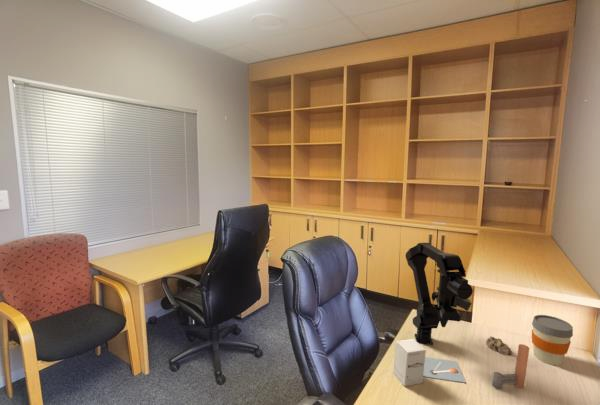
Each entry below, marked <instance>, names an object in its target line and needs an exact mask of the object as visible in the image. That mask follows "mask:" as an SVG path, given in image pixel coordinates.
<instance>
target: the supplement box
mask: <svg viewBox="0 0 600 405" xmlns="http://www.w3.org/2000/svg"><path fill="white" fill-rule="evenodd" d="M426 351H427V350H426V349H425V348H424V347H423V346H422V345H421V343H418V342H416V339H414V338H410V339H403V340H396V341H395V347H394V355H393V356H394V358H393V359H394V360H393V368H392V370H393V371H392V374H393V375H394V376H395V377H396V379H398V381H399V382H400V383H401V384H402V386H403V387H408V386H414V385H419V384H423V381H424V377H423V373H424V363H425V357H426Z"/></svg>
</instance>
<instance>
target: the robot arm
mask: <svg viewBox="0 0 600 405" xmlns="http://www.w3.org/2000/svg"><path fill="white" fill-rule="evenodd" d="M428 258H429V259H431V260H433V261H434V262H435V263H436V264H435V265H436V267H437V268H438V269H437V272H438V273H439V282H438V286H437V287H436V290H437V291H433V292H432V293H431V295H430V291H429V290H430V289H429V285H428V281H427V275H426V271H425V269H426V266H427V263H428V260H427V259H428ZM405 259H406V261H407V265H408V267H410V269H411V270H412V273H413V278H414V283H415V284H414V285H415V290H416V294H417V300H418V306H417V309H416V316H414V317H413V318H412V324H413V325H414V326H415V328H416V333H414V338H415V341H416V342H418V343H419V344H424V345H430V346H431V345H432V346H433V345H434V342H433V340H432V332H433V329H438V326H439V324H440V326H441V328H446V326H447V324H448V322H449V321H452V322H461V320H462V315H461V314H460V312H459V311H458V309H456V308H458V307H459V308H461V309H463V310H465V311H467V312H468V311H469V309H470V308H471V306H472V301H471V300H470V299H469V298H471V296H472V294H473V291H474V290H473V288H472V285H470V284H469V280H468V279H466V278H465V277H467V274H466V270H465V267H464V264H463V261H462V259H461V257H460V256H459V255H458V254H456V253H455V254H454V253H448V252H444V251H443V250H440V249H439V248H437V247H436V246H434V245H432V244H431V243H430V242H419V243H417V244H416V245H415V246H412V247H410V248H408V250H407V251H406V253H405ZM431 299H432V300H431ZM432 301H436V304H434V305H433V303H432Z"/></svg>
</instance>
